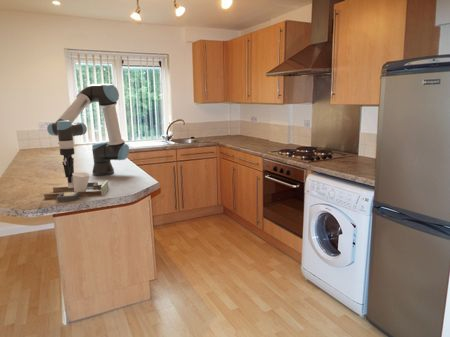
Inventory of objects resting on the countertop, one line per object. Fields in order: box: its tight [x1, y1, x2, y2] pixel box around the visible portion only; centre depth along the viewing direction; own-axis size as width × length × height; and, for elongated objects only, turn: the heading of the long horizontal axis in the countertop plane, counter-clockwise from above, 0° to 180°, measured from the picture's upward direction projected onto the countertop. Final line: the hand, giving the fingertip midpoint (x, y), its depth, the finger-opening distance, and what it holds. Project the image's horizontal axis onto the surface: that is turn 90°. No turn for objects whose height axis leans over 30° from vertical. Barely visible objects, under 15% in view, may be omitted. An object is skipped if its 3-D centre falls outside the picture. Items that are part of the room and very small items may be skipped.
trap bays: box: [56, 181, 99, 203], centre depth 195 cm, size 30×15×2 cm, turn 9°
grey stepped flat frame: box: [43, 184, 103, 200], centre depth 195 cm, size 15×31×2 cm, turn 99°
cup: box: [72, 171, 91, 194], centre depth 194 cm, size 10×10×11 cm
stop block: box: [100, 179, 110, 196], centre depth 197 cm, size 15×1×5 cm, turn 9°
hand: (71, 187), depth 194 cm, fingers closed
